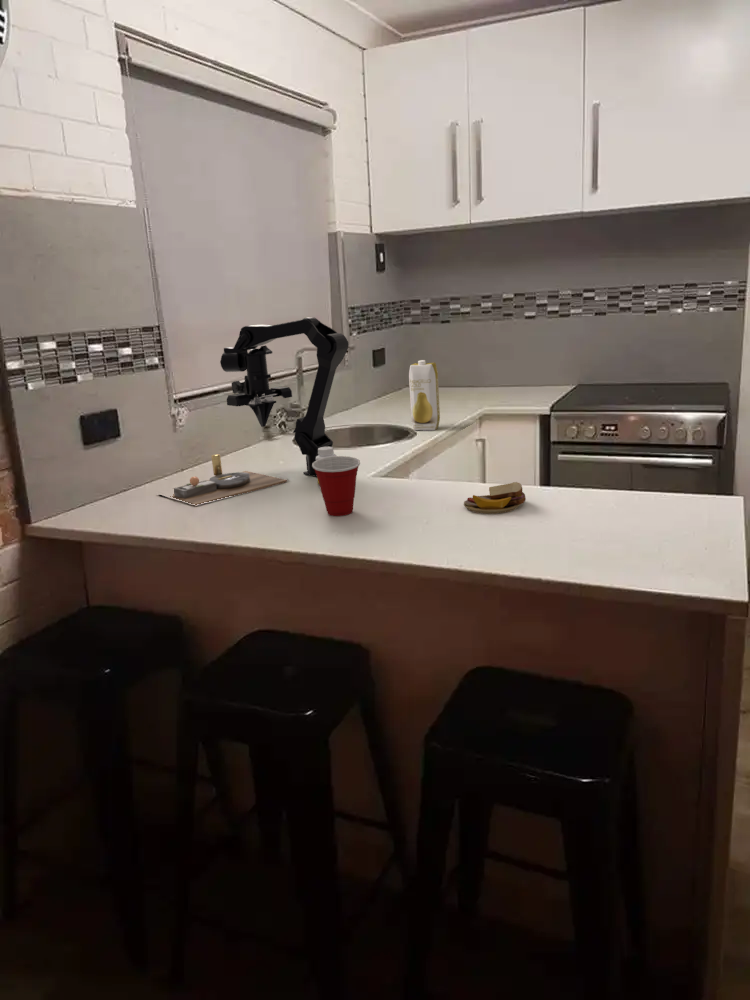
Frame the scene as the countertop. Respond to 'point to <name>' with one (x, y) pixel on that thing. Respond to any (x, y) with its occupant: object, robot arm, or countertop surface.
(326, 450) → the supplement bottle
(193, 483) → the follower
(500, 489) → the toy sandwich meal
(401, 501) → the countertop surface
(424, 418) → the juice carton
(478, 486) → the countertop surface
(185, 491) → the wooden base board
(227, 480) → the wheel
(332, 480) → the plastic cup
